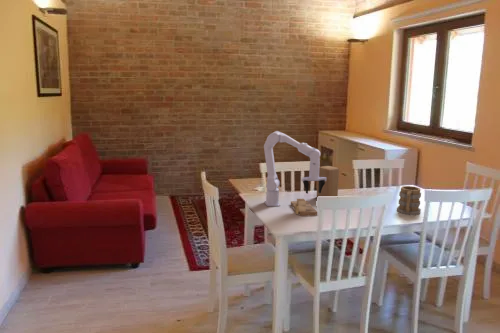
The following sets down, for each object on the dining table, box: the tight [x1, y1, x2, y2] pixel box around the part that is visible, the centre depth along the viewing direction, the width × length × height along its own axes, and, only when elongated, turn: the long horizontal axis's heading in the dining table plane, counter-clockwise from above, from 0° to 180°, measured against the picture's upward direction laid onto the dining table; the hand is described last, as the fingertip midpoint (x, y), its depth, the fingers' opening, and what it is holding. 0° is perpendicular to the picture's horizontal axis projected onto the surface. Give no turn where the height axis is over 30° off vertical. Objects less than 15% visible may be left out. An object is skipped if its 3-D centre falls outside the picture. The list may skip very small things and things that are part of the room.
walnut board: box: [290, 200, 318, 217], centre depth 260 cm, size 22×10×2 cm, turn 8°
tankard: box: [396, 185, 422, 216], centre depth 256 cm, size 20×13×15 cm, turn 152°
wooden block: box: [316, 165, 340, 198], centre depth 284 cm, size 10×10×20 cm
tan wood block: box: [294, 198, 307, 215], centre depth 252 cm, size 5×5×8 cm
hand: (313, 193), depth 261 cm, fingers open, 7 cm apart
